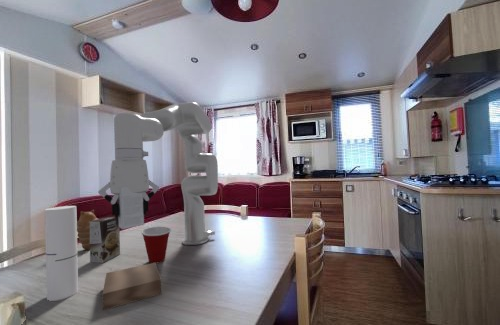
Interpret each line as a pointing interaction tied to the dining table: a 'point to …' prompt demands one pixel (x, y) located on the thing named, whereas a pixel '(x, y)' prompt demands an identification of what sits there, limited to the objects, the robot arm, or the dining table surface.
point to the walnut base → (131, 285)
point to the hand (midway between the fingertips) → (130, 215)
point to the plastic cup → (156, 243)
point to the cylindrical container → (61, 252)
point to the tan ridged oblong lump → (85, 228)
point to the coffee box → (104, 239)
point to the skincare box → (130, 208)
